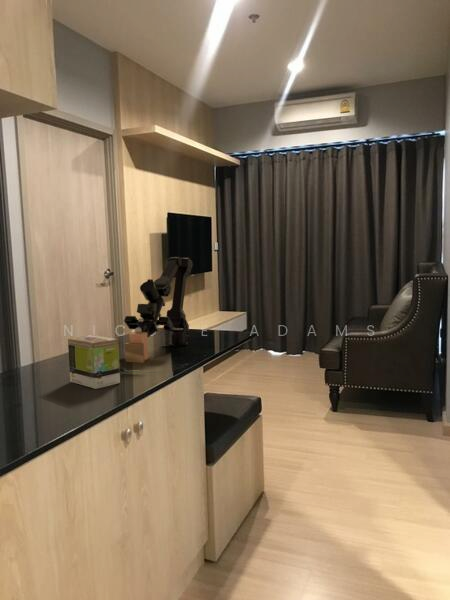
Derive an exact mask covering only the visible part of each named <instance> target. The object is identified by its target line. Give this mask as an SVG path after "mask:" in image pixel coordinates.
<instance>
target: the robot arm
mask: <svg viewBox="0 0 450 600" xmlns="http://www.w3.org/2000/svg"><path fill="white" fill-rule="evenodd" d="M193 267H194V266H193V261H192V260H191V258H190V257H179V256H174V257H173V256H171V257H169V258H168V259H167V264H166V266H165V267H164V269H163V271H162V273H161V276H160V277H158V278H157V279H155V280H153V279H149V278H148V279H147V280H146V281H144V282H143V283H142V284H141V285H140V286H139V291H140V292H141V294H142V295H143V297H144V299H145V300H146V301H147V302H148V303H137V307H136V313H138V314H139V317H138V318H137V316H136V315H126V316H125V317H124V320H123V321H124V323H125V325H126V327H127V328H128V329H129V330H135V329H136V328H138V327H140V328H141V330H142V331H141V332H147V339H148V338H149V337H151V336H152V335H153V334H154V333H156V332H158V331H159V329H158V328H159V327H160V326H163V330H164V331H167V332H169V335H168V337H169V343H168V345H171V346H174V347H178V346H186V345H189V343H188V342H187V332H188V331H189V330H190V324H189V322H188V321H187V319H186V317H187V315H186V313H185V311H184V303H185V302H184V301H185V293H186V283H187V278H188V277H189V276H190V274H191V273H192V268H193ZM174 277H175V278H174ZM173 279H174V285H173V286H174V288H173V294H172V303H171V308H170V309H168V310H167V311H166V316H162V314H161V311H162V308H163V307H165V306H166V302H165V300H164V298H165V297H169V296H170V294H171V293H172V285H171V284H172V281H173Z"/></svg>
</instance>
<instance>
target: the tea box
mask: <svg viewBox="0 0 450 600" xmlns="http://www.w3.org/2000/svg"><path fill="white" fill-rule="evenodd" d="M67 347H68V348H67V349H68V365H69V366H68V367H69V379H70V381H69V382H71V383H73V384H79V385H80V386H84V387H88V388H91V389H94V390H96V389H101V388H105V387H110V386H114V385H117V384H120V382H121V373H120V372H121V371H120V369H121V368H120V354H119V353H120V351H119V350H120V349H119V347H120V346H119V339H118V338H117V337H115V338H114V337H109V336H102V335H97V334H95V335H94V334H89V335H84V336H78V337H71V338H67Z"/></svg>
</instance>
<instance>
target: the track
mask: <svg viewBox="0 0 450 600" xmlns="http://www.w3.org/2000/svg"><path fill="white" fill-rule="evenodd" d="M124 351H125V353H124V354H125V363H143V364H144V363H145V362H146V360H145V358H144V343H130V342H125V343H124Z"/></svg>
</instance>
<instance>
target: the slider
mask: <svg viewBox="0 0 450 600" xmlns="http://www.w3.org/2000/svg"><path fill="white" fill-rule="evenodd" d="M134 331H135V332H132V333H129V343H144V358H145V361H146V360H148V359H149V343H148V342H149V341H148V338H147V332H141V331H142V330H141V328H140V327H138V328H136V329H134Z"/></svg>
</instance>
